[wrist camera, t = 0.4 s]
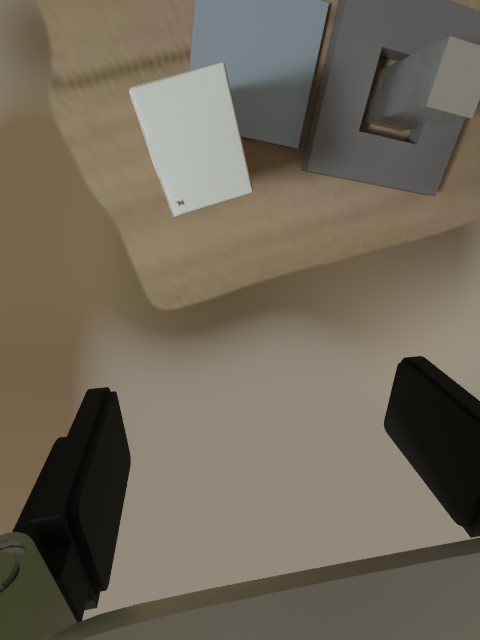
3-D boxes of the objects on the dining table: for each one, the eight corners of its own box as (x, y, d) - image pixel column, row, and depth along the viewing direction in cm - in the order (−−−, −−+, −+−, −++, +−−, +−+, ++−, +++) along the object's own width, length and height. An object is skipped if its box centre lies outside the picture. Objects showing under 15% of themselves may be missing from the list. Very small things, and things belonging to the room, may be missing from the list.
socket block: (343, -21, 29) (353, -33, 27) (485, 28, 33) (503, 20, 31) (301, 170, 36) (307, 170, 34) (423, 194, 39) (435, 195, 37)
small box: (232, 178, 35) (255, 194, 23) (176, 195, 35) (172, 220, 23) (210, 89, 31) (224, 58, 19) (147, 108, 31) (124, 88, 19)
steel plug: (377, 71, 33) (449, 35, 24) (415, 82, 34) (498, 51, 25) (363, 122, 35) (426, 106, 26) (399, 131, 36) (472, 118, 27)
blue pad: (198, -37, 27) (198, -39, 27) (327, 5, 30) (329, 3, 30) (184, 124, 32) (184, 124, 32) (296, 148, 35) (298, 148, 34)
